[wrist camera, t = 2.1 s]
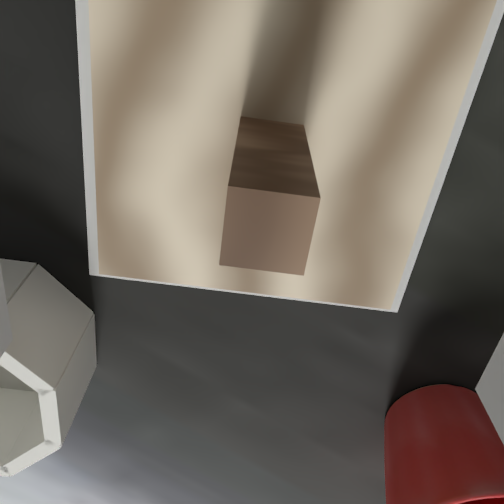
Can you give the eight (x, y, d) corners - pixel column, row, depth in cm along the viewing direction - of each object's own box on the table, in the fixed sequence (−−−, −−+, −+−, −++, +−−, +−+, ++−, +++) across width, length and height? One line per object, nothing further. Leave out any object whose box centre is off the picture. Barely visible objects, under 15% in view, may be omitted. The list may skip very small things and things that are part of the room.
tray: (517, -44, 22) (523, -44, 21) (395, 306, 32) (397, 312, 31) (74, -112, 21) (69, -115, 21) (92, 269, 31) (89, 274, 31)
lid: (493, -22, 22) (645, -16, 13) (386, 298, 31) (433, 429, 22) (94, -83, 21) (-31, -120, 12) (104, 263, 30) (37, 384, 21)
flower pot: (495, 460, 40) (556, 592, 31) (360, 464, 40) (385, 593, 32) (522, 365, 34) (604, 493, 26) (366, 370, 35) (397, 497, 27)
